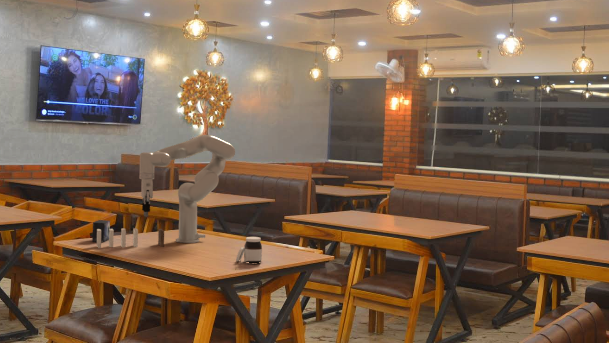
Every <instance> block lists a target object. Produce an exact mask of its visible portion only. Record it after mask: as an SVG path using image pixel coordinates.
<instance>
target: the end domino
mask: <svg viewBox="0 0 609 343" xmlns="http://www.w3.org/2000/svg"><path fill="white" fill-rule="evenodd" d="M143 217H145V218H148V217H149V212H144V211H143Z"/></svg>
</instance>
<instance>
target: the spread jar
mask: <svg viewBox="0 0 609 343" xmlns="http://www.w3.org/2000/svg"><path fill="white" fill-rule="evenodd" d="M261 240H262V239H261V237H258V236H247V237H246V238H245V243H244V247H242V246H241V247H240V249H239V250H238V253H237V255H236V258H235V261H236V262H238V261H239V260H240V261H241V260H242V258H243V261H244V263H245V262H249V263H259V262H261V263H262V260H263V258H262V256H263V254H262V253H263V248H262V247H263V246H262V243H261ZM240 261H239V262H240Z"/></svg>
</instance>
